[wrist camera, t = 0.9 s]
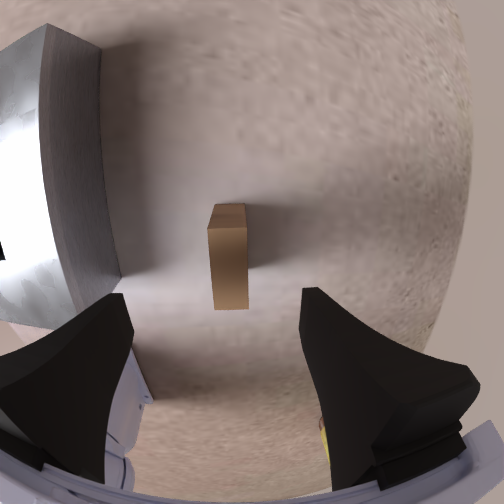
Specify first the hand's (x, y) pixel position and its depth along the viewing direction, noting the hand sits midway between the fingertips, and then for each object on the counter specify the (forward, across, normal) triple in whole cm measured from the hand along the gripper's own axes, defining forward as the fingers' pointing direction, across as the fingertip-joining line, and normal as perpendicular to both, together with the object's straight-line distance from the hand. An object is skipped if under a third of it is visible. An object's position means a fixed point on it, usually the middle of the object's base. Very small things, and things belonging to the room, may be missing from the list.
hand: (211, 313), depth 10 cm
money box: (+9, +15, -6) cm, 19 cm away
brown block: (+10, -1, +1) cm, 10 cm away
